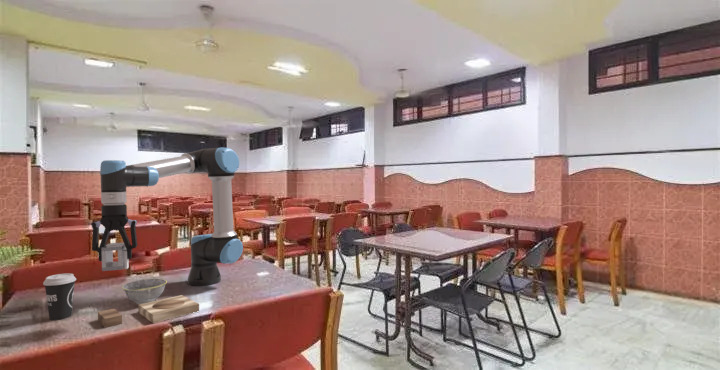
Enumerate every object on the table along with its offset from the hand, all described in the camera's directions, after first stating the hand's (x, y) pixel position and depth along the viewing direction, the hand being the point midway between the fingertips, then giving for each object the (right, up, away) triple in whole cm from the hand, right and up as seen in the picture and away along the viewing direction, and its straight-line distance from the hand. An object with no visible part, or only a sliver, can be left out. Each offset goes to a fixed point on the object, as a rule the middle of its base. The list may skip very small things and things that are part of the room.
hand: (115, 269), depth 135 cm
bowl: (-1, -18, +21) cm, 28 cm away
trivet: (+15, -18, +9) cm, 25 cm away
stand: (-2, -18, -1) cm, 19 cm away
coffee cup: (-23, -19, +4) cm, 30 cm away
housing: (0, +1, 0) cm, 1 cm away
